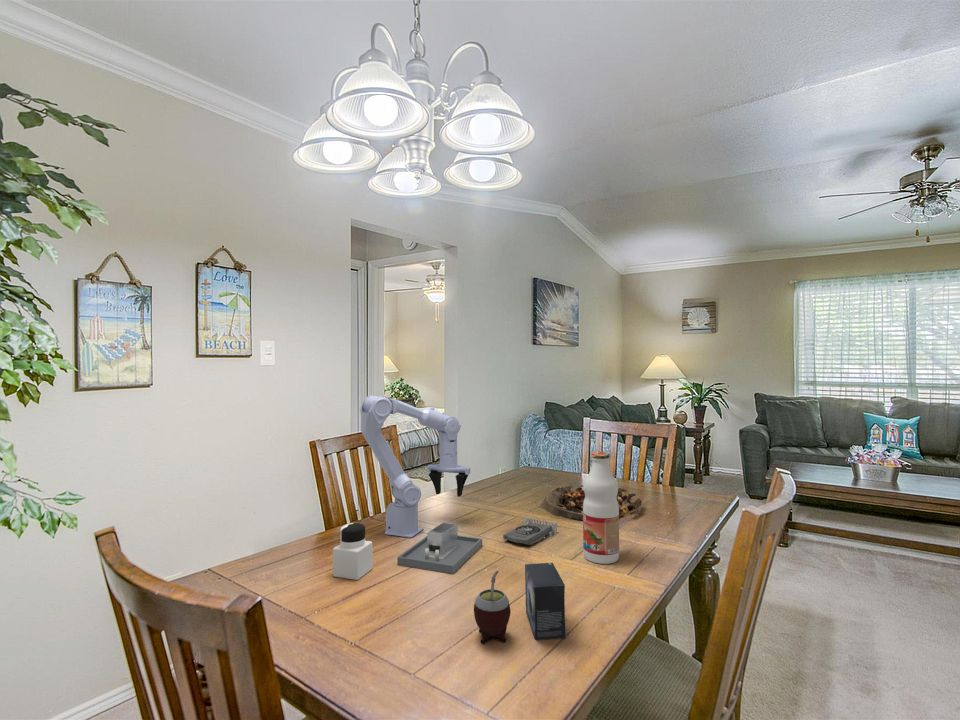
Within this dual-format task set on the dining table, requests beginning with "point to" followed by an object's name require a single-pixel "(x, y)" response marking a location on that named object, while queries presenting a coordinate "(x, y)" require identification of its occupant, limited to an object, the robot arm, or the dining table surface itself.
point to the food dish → (572, 503)
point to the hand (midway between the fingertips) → (448, 494)
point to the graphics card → (531, 531)
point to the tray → (447, 563)
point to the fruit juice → (600, 512)
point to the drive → (442, 539)
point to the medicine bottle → (352, 553)
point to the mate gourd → (492, 613)
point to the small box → (545, 601)
